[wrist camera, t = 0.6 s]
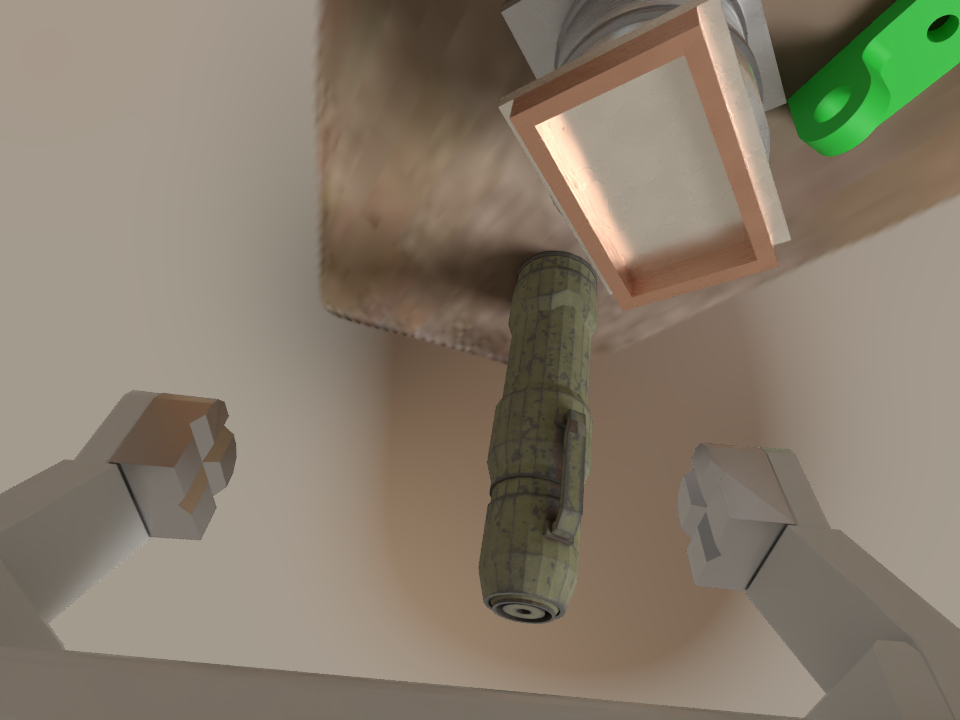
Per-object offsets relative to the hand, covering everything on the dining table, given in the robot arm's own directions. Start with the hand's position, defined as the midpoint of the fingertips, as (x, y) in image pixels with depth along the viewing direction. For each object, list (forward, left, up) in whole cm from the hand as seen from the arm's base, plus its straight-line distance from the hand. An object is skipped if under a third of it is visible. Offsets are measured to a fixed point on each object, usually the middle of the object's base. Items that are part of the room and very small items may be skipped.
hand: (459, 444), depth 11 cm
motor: (+1, +14, -44) cm, 46 cm away
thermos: (+18, +33, -44) cm, 58 cm away
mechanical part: (-14, +23, -44) cm, 52 cm away
